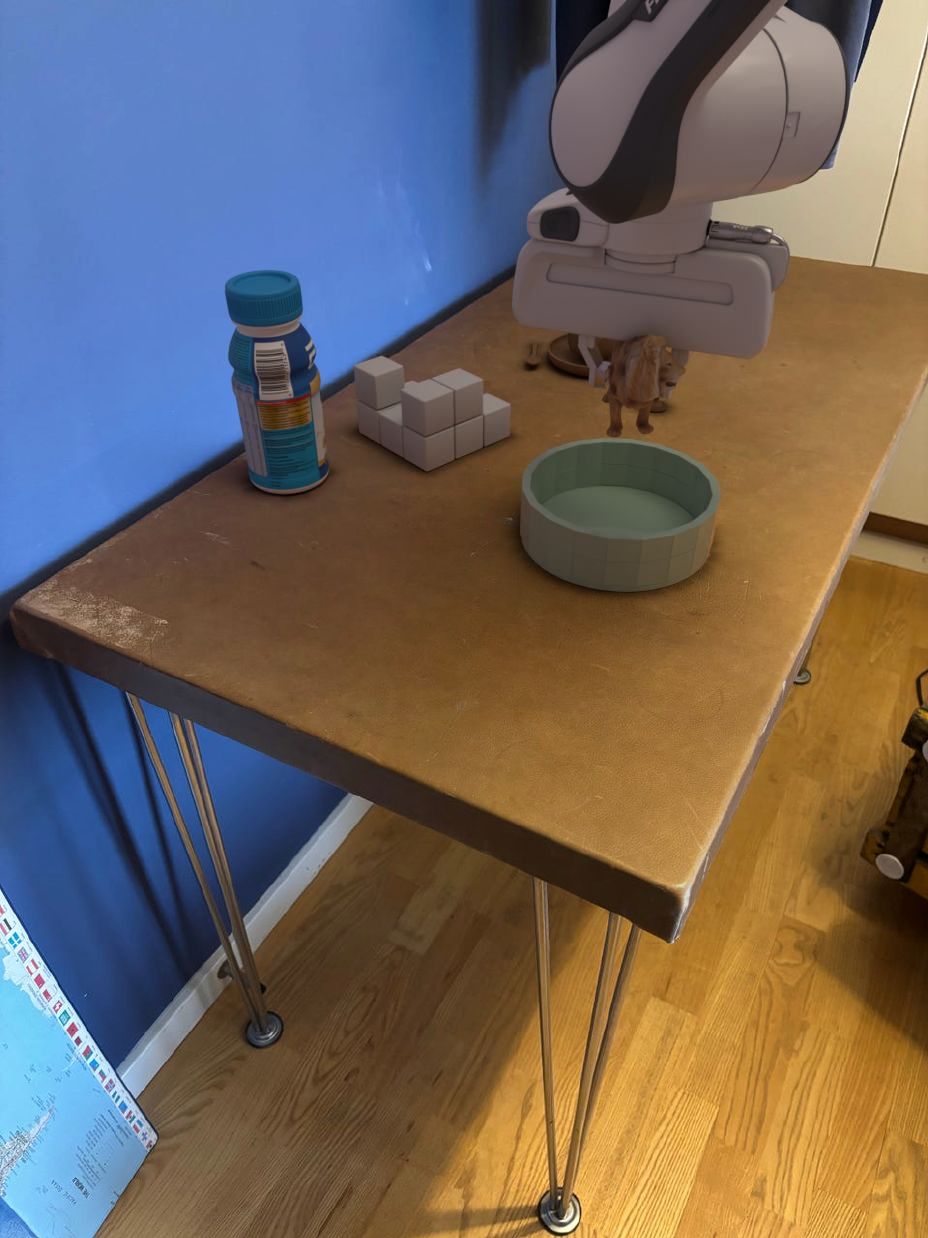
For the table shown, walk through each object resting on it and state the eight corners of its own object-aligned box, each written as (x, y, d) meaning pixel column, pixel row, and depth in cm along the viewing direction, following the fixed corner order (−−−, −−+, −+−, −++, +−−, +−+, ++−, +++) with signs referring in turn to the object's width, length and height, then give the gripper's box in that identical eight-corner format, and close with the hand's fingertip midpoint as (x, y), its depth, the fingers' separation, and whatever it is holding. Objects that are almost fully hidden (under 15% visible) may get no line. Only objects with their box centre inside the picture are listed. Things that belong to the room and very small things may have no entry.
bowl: (726, 508, 89) (736, 457, 85) (687, 611, 76) (697, 557, 73) (555, 473, 94) (557, 425, 91) (492, 565, 82) (492, 512, 78)
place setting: (661, 345, 120) (667, 300, 117) (673, 413, 105) (680, 364, 101) (528, 341, 122) (530, 297, 118) (520, 407, 106) (522, 359, 102)
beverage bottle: (231, 483, 93) (193, 286, 81) (284, 449, 99) (256, 260, 86) (296, 505, 90) (267, 303, 77) (347, 468, 95) (328, 274, 83)
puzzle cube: (510, 436, 101) (512, 367, 96) (426, 472, 95) (424, 401, 90) (440, 400, 108) (439, 335, 103) (358, 432, 102) (352, 364, 97)
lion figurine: (679, 455, 72) (694, 344, 66) (612, 458, 72) (620, 348, 66) (643, 376, 83) (652, 276, 77) (584, 379, 83) (590, 280, 77)
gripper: (801, 217, 66) (763, 395, 75) (535, 191, 72) (528, 357, 81) (789, 241, 62) (750, 428, 70) (506, 211, 68) (503, 385, 77)
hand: (629, 390), depth 76 cm, fingers closed on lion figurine, 4 cm apart
